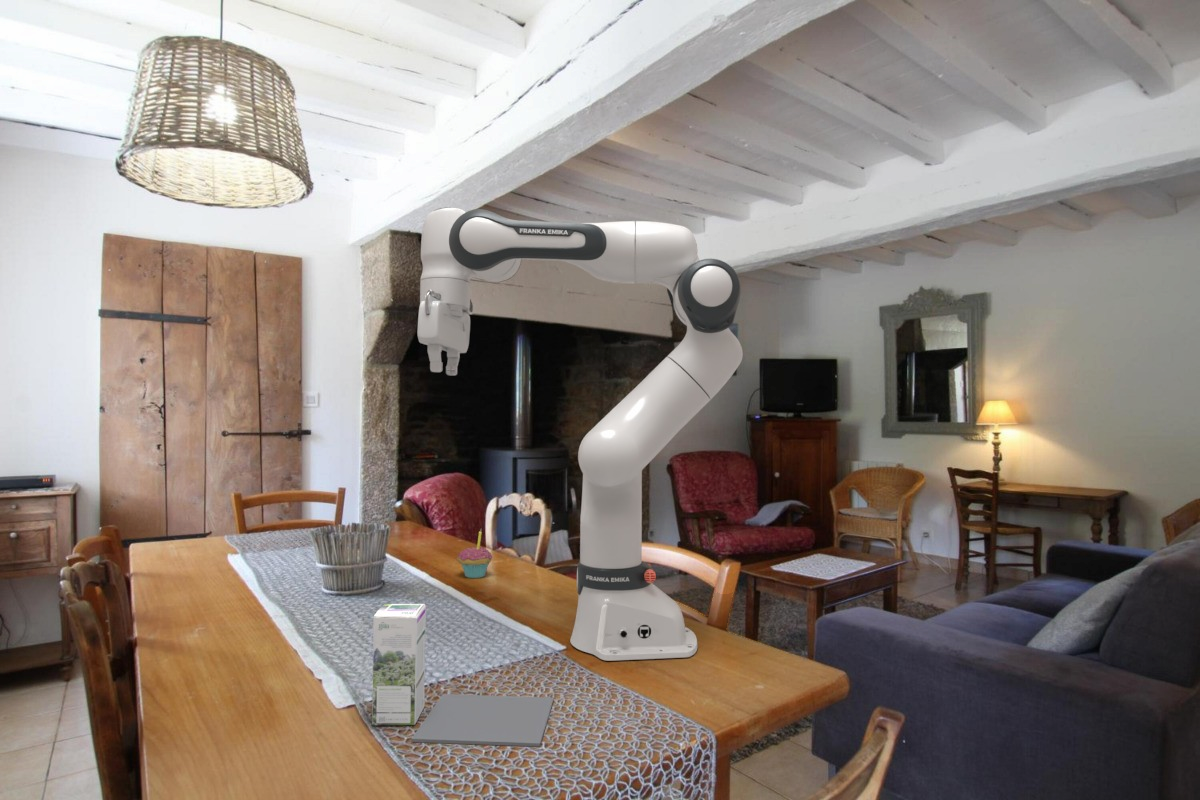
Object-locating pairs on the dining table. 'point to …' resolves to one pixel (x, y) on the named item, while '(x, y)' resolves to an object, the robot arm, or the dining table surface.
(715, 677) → the dining table surface
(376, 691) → the syrup box
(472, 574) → the cupcake
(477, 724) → the felt mat
